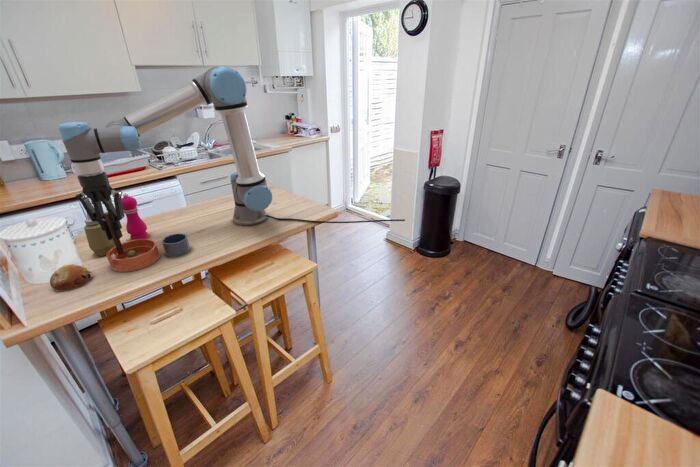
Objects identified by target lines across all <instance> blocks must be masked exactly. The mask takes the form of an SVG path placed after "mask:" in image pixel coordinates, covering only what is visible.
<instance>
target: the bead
mask: <svg viewBox="0 0 700 467" xmlns="http://www.w3.org/2000/svg"><path fill="white" fill-rule="evenodd" d="M136 255H137V253H136V252H135V251H133V250H131V251H129V252H128V253H127V256H128V257H129V258H132V257H135V256H136Z"/></svg>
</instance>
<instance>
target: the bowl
mask: <svg viewBox="0 0 700 467" xmlns="http://www.w3.org/2000/svg"><path fill="white" fill-rule="evenodd" d="M121 244H122V247H123V249H124V252H125V253H124V254H122V255H118V252H117V250H116V247H113V248H111V249H110V250H109V251H108V252H107V254H106V255H105V256H106V259H107V262H108V264H109V266H110V268H111V270H112V271H115V272H119V273H128V272H129V273H131V272H134V271H139V270H142V269H145V268H147V267H149V266H152V265H153V264H154V263H157V261H158V260H159V259H160V258H161V251H160V249H159V245H158V243H157V241H156V240H155V239H152V238H145V239H136V240H131V239H129V240H128V241H127V240H126V241H124V242H121ZM131 250H133V251H135V252H136V253H137V255H139V256H136V257H132V258H129V257H128V256H127V253H128V252H129V251H131Z"/></svg>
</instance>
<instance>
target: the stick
mask: <svg viewBox="0 0 700 467" xmlns="http://www.w3.org/2000/svg"><path fill="white" fill-rule="evenodd" d="M103 216H104V218H105V221H106V224H107V226H108V229H109V232H110V234H111V237H112V239H113V242H114V245H115V247H116V250H117V252H118V255H122V254H124V253H125V252H124V249H123V247H122V244H121V243H122V241H121V238H120V239H118V240H117V239H116V236H115V234H114V231H113V228H112V226H111V222H112V219H111V217H110V215H109V213H108V211H106V212H104V213H103Z"/></svg>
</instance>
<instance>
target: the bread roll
mask: <svg viewBox="0 0 700 467" xmlns="http://www.w3.org/2000/svg"><path fill="white" fill-rule="evenodd" d="M91 273H92V271H90V270H88V269H87V267H84V266H82V265H79V264H73V263H71V264H65V265H62V266H61V267H59V268H57V269H56V270H55V271H53V273H52V274H51V276H50V277H49V285H50V286H51V288H52V289H53V290H55V291H58V292H64V291H71V290H75V289H78V288H80V287H82V286H84V285H86V284H87V283H88V282H89V281H90V279H92V276H91Z"/></svg>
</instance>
